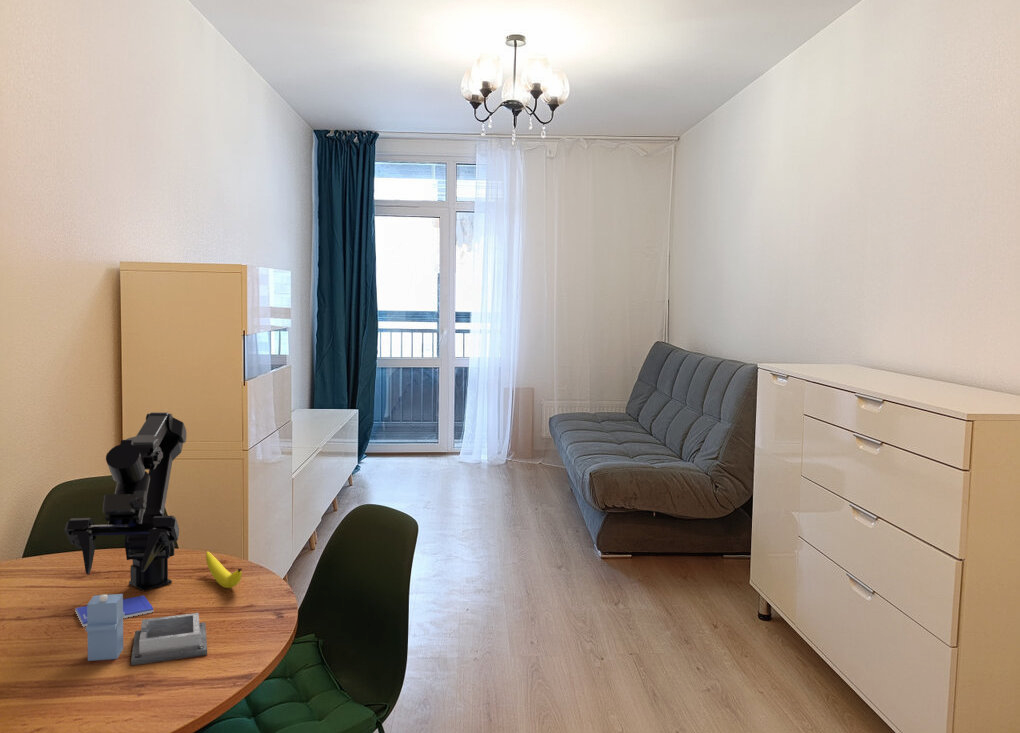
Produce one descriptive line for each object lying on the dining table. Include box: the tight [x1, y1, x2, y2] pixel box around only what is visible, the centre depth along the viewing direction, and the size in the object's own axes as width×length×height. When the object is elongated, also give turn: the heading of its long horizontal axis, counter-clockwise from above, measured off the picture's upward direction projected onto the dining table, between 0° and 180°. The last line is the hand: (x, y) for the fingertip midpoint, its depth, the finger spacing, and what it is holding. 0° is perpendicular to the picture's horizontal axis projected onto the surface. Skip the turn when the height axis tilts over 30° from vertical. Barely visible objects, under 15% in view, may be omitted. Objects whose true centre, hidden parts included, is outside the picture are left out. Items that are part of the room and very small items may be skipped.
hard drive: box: [75, 594, 154, 628], centre depth 150 cm, size 2×8×12 cm
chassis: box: [130, 612, 208, 667], centre depth 137 cm, size 12×12×4 cm
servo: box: [85, 593, 125, 662], centre depth 133 cm, size 6×5×11 cm
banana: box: [205, 551, 243, 589], centre depth 166 cm, size 3×19×6 cm, turn 41°
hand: (115, 572), depth 138 cm, fingers open, 9 cm apart
